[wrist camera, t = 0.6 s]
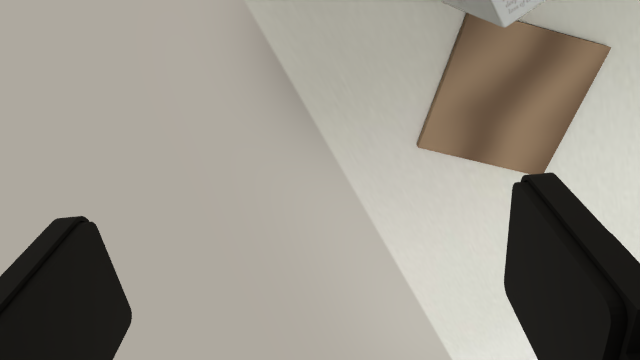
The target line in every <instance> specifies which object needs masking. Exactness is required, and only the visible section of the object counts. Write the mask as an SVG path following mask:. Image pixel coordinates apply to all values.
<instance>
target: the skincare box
mask: <svg viewBox="0 0 640 360" xmlns="http://www.w3.org/2000/svg"><path fill="white" fill-rule="evenodd" d="M544 1H546V0H442V2H443V3H445V4H448V5H450V6H452V7H454V8H457V9H459V10H462V11H464V12H467V13H469V14H472V15H474V16H476V17H479V18H481V19H484V20H486V21H489V22H492V23H493V24H496V25H498V26H501V27H504V28H505V27H507V26H509V25H510V24H512V23H513V22H515V21H516V20H518V19H519V18H521V17H522V16H523V15H525V14H526V13H528V12H529V11H531V10H532V9H534V8H535V7H537V6H538V5H540V4H541V3H543V2H544Z"/></svg>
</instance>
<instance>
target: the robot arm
mask: <svg viewBox="0 0 640 360" xmlns="http://www.w3.org/2000/svg"><path fill="white" fill-rule="evenodd" d="M504 286H505V291H506V295H507V297H508V299H509V301H510V303H511V305H512V307H513V310H514V312H515V314H516V316H517V318H518V320H519V322H520V324H521V326H522V328H523V330H524V332H525V334H526V336H527V338H528V340H529V342H530V344H531V346H532V348H533V350H534V352H535V354H536V357H537V359H538V360H640V263H639V262H638V261H637V260H636V259H635V258H634V257H633V256H632V254H631V253H630V252H629V251H628V250H627V249H626V248H625V247H624V246H623V245H622V244H621V243H620V242H619V241H618V240H617V238H616V237H615V236H614V235H613V234H611V233H610V232H609V231H608V230H607V229H606V228H605V227H604V226H603V225H602V224H601V223H600V222H599V221H598V220H597V219H596V217H595V216H594V215H593V214H592V213H591V212H590V211H589V210H588V209H587V208H586V207H585V206H584V205H583V204H582V202H581V201H580V200H579V199H578V198H577V197H576V196H575V195H574V194H573V193H572V192H571V191H570V190H569V189H568V187H567V186H566V185H565V184H564V183H563V182H562V181H561V180H560V179H559V178H558V177H557V176H556V175H555V174H554V173H542V174H531V175H524V176H523V177H522V179H521V182H517V183H514V185H513V189H512V199H511V210H510V221H509V232H508V243H507V253H506V264H505V275H504ZM131 319H132V312H131V308H130V306H129V303H128V301H127V298H126V296H125V294H124V291H123V289H122V286H121V284H120V281H119V279H118V277H117V274H116V272H115V269H114V267H113V264H112V263H111V260H110V257H109V255H108V252H107V250H106V248H105V245H104V243H103V240H102V238H101V235H100V233H99V230H98V228H97V226H96V224H94V223H93V222H89V220H88V219H87V218H85V217H83V216H78V217H68V218H59V219H55V220H54V221H53V222H52V223H51V224H50V225H49V226H48V227H47V228H46V229H45V230H44V231H43V232H42V233H41V234H40V236H38V237H37V238H36V239H35V241H34V242H33V243H32V244H31V245H30V246H29V247H28V248H27V249H26V250H25V251H24V252H23V253H22V254H21V255H20V256H19V257H18V258H17V259H16V260H15V262H14V263H13V264H12V265H11V266H10V267H9V268H8V269H7V270H6V271H5V272H4V273H3V274H2V275H1V276H0V360H113V358H114V356H115V354H116V352H117V350H118V348H119V346H120V344H121V342H122V340H123V338H124V336H125V334H126V332H127V330H128V328H129V326H130V324H131Z"/></svg>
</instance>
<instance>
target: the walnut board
mask: <svg viewBox="0 0 640 360" xmlns="http://www.w3.org/2000/svg"><path fill="white" fill-rule="evenodd" d="M610 49H611V47H608V46H605V45H602V44H598V43H594V42H591V41H587V40H584V39H580V38H576V37H573V36H569V35H566V34H562V33H558V32H555V31H551V30H548V29H544V28H541V27H537V26H533V25H530V24H526V23H523V22H519V21H515V22H513V23H512V24H510V25H509V26H507V27H505V28H504V27H501V26H498V25H496V24H493V23H492V22H489V21H486V20H484V19H481V18H479V17H476V16H474V15H472V14H469V13H466V16H465V19H464V21H463V24H462V27H461V29H460V32H459V34H458V37H457V40H456V42H455V45H454V48H453V50H452V53H451V55H450V58H449V61H448V63H447V66H446V69H445V71H444V74H443V76H442V79H441V82H440V84H439V87H438V90H437V92H436V95H435V97H434V100H433V103H432V105H431V108H430V110H429V113H428V116H427V118H426V121H425V124H424V126H423V129H422V131H421V134H420V137H419V139H418V142H417V146H418V147H419V148H423V149H427V150H431V151H435V152H440V153H444V154H448V155H452V156H456V157H461V158H465V159H469V160H473V161H477V162H481V163H486V164H490V165H494V166H498V167H502V168H507V169H511V170H515V171H519V172H523V173H528V174H542V173H544V172H545V170H546V168H547V166H548V164H549V162H550V161H551V159H552V157H553V155H554V153H555V151H556V149H557V148H558V146H559V144H560V142H561V140H562V138H563V136H564V135H565V133H566V131H567V129H568V127H569V125H570V123H571V122H572V120H573V118H574V116H575V114H576V112H577V110H578V109H579V107H580V105H581V103H582V101H583V99H584V97H585V96H586V94H587V92H588V90H589V88H590V86H591V84H592V83H593V81H594V79H595V77H596V75H597V73H598V71H599V70H600V68H601V66H602V64H603V62H604V60H605V58H606V57H607V55H608V53H609V51H610Z"/></svg>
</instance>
